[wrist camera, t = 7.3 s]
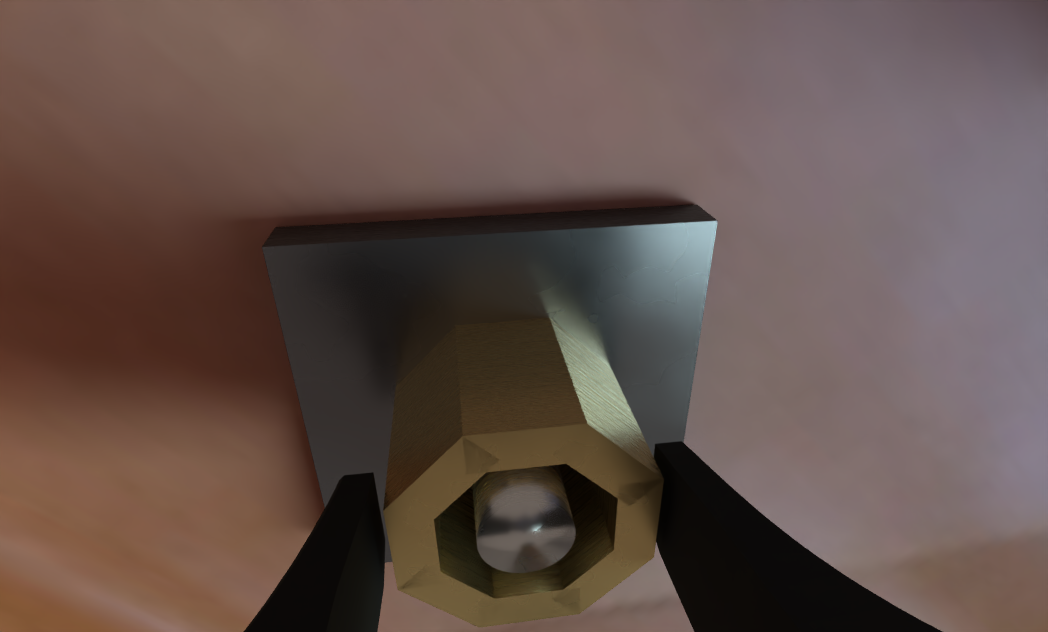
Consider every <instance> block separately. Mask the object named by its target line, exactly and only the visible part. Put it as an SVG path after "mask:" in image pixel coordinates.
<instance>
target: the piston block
mask: <svg viewBox="0 0 1048 632" xmlns="http://www.w3.org/2000/svg"><path fill="white" fill-rule="evenodd" d="M716 228H717V220H716V219H715V218H713V217H712V216H711V215H710V214H708V213H707V212H706V211H705V210H703V209H702V208H701V207H699V206H698V205H681V206H662V207H644V208H625V209H607V210H589V211H570V212H552V213H533V214H515V215H497V216H478V217H460V218H441V219H423V220H404V221H386V222H368V223H349V224H331V225H312V226H294V227H276V228H275V229H274V230H273V232H272V233H271V235H270V236H269V238H268V239H267V241H266V242H265V243H264V245H263V246H262V249H263V253H264V257H265V262H266V266H267V270H268V274H269V278H270V282H271V287H272V291H273V295H274V299H275V303H276V307H277V311H278V316H279V320H280V324H281V328H282V332H283V336H284V340H285V345H286V349H287V353H288V357H289V361H290V365H291V369H292V374H293V378H294V382H295V386H296V390H297V394H298V398H299V403H300V407H301V411H302V415H303V419H304V423H305V428H306V432H307V436H308V440H309V444H310V448H311V452H312V457H313V461H314V465H315V469H316V473H317V477H318V481H319V486H320V490H321V494H322V498H323V502H324V506H325V507H326V505H327V504H328V502H329V500H330V498H331V496H332V494H333V492H334V490H335V488H336V486H337V484H338V482H339V480H340V479H341V478H342V477H343V476H344V475H352V474H361V473H371V472H373V473H374V478H375V484H376V490H377V495H378V501H379V506H380V512H381V518H382V523H383V529H384V534H385V562H393V561H392V556H391V551H390V545H389V540H388V535H387V529H386V524H385V518H384V513H383V507H384V497H385V488H386V478H387V468H388V458H389V448H390V439H391V429H392V419H393V409H394V400H395V390H396V386H397V385H398V384H399V383H400V382H401V381H402V380H403V379H404V378H405V377H406V376H407V375H408V374H409V373H410V372H411V371H412V370H413V369H414V368H415V367H416V366H417V365H418V364H419V363H420V362H421V361H422V360H423V358H424V357H425V356H426V355H427V354H428V353H429V352H430V351H431V350H432V349H433V348H434V347H435V346H436V345H437V344H438V343H439V342H440V341H441V340H442V339H443V338H444V337H445V336H446V335H447V334H448V333H449V332H450V331H451V330H452V329H453V328H454V327H455V326H456V325H467V324H479V323H492V322H504V321H516V320H528V319H541V318H551V319H552V320H553V321H554V322H556V323H557V324H558V325H559V326H560V327H562V328H563V329H564V330H565V331H567V332H568V333H569V334H570V335H572V336H573V337H574V338H575V339H577V340H578V341H579V342H580V343H581V344H583V345H584V346H585V347H586V348H588V349H589V350H590V351H591V352H593V353H594V354H595V355H596V356H598V357H599V358H600V359H601V360H602V361H604V362H605V363H606V364H607V365H609V366H610V367H611V369H612V371H613V373H614V375H615V377H616V379H617V381H618V384H619V386H620V388H621V390H622V392H623V394H624V396H625V398H626V400H627V403H628V405H629V407H630V409H631V411H632V413H633V415H634V417H635V419H636V422H637V424H638V426H639V428H640V430H641V432H642V434H643V436H644V438H645V441H646V443H647V445H648V447H649V449H650V451H651V453H652V455H653V457H654V449H655V444H658V443H668V442H678V441H682V442H683V441H684V435H685V428H686V422H687V415H688V409H689V403H690V396H691V390H692V383H693V377H694V370H695V364H696V357H697V351H698V344H699V338H700V331H701V325H702V318H703V312H704V305H705V299H706V292H707V286H708V279H709V273H710V266H711V260H712V253H713V247H714V241H715V234H716ZM472 489H473V501H474V514H475V527H476V540H477V549H478V552H479V554H480V556H481V558H482V559H483V560H484V561H485V562H486V563H487V564H489V565H490V566H492V567H493V568H496V569H498V570H501V571H505V572H510V573H528V572H533V571H537V570H541V569H544V568H546V567H548V566H551V565H552V564H554V563H556V562H557V561H559V560H560V559H561V558H562V557H564V556H565V555H566V554H567V552H568V551H569V550H570V548H571V547H572V545H573V543H574V540H575V535H576V529H575V525H574V521H573V517H572V513H571V510H570V506H569V502H568V498H567V495H566V491H565V487H564V483H563V479H562V476H561V472H560V468H559V465H550V466H540V467H531V468H522V469H513V470H503V471H494V472H486V473H485V474H484V475H483V476H482V477H481V478H480V479H478V480H477V481H476V482H475V483H474V484H473V485H472Z"/></svg>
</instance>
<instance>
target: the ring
mask: <svg viewBox="0 0 1048 632" xmlns="http://www.w3.org/2000/svg"><path fill="white" fill-rule="evenodd" d="M550 465H559V468H560V472H561V476H562V479H563V483H564V487H565V491H566V495H567V498H568V502H569V506H570V510H571V513H572V517H573V521H574V525H575V529H576V535H575V540H574V543H573V545H572V547H571V548H570V550H569V551H568V552H567V554H566V555H565V556H564V557H562V558H561V559H560V560H559V561H557V562H556V563H554V564H552V565H551V566H548V567H546V568H544V569H541V570H537V571H533V572H528V573H510V572H505V571H501V570H498V569H496V568H493V567H492V566H490V565H489V564H487V563H486V562H485V561H484V560H483V559H482V558H481V556H480V554H479V552H478V549H477V540H476V527H475V514H474V501H473V489H472V485H473V484H474V483H475V482H476V481H477V480H478V479H480V478H481V477H482V476H483V475H484V474H485V473H486V472H494V471H503V470H513V469H522V468H531V467H540V466H550ZM663 483H664V478H663V476H662V474H661V472H660V470H659V468H658V466H657V464H656V462H655V460H654V457H653V455H652V453H651V451H650V449H649V447H648V445H647V443H646V441H645V438H644V436H643V434H642V432H641V430H640V428H639V426H638V424H637V422H636V419H635V417H634V415H633V413H632V411H631V409H630V407H629V405H628V403H627V400H626V398H625V396H624V394H623V392H622V390H621V388H620V386H619V384H618V381H617V379H616V377H615V375H614V373H613V371H612V369H611V367H610V366H609V365H607V364H606V363H605V362H604V361H602V360H601V359H600V358H599V357H598V356H596V355H595V354H594V353H593V352H591V351H590V350H589V349H588V348H586V347H585V346H584V345H583V344H581V343H580V342H579V341H578V340H577V339H575V338H574V337H573V336H572V335H570V334H569V333H568V332H567V331H565V330H564V329H563V328H562V327H560V326H559V325H558V324H557V323H556V322H554V321H553V320H552V319H551V318H541V319H528V320H516V321H504V322H492V323H479V324H467V325H456V326H455V327H454V328H453V329H452V330H451V331H450V332H449V333H448V334H447V335H446V336H445V337H444V338H443V339H442V340H441V341H440V342H439V343H438V344H437V345H436V346H435V347H434V348H433V349H432V350H431V351H430V352H429V353H428V354H427V355H426V356H425V357H424V358H423V360H422V361H421V362H420V363H419V364H418V365H417V366H416V367H415V368H414V369H413V370H412V371H411V372H410V373H409V374H408V375H407V376H406V377H405V378H404V379H403V380H402V381H401V382H400V383H399V384H398V385H397V386H396V390H395V400H394V409H393V419H392V429H391V439H390V448H389V458H388V468H387V478H386V488H385V497H384V507H383V513H384V518H385V524H386V529H387V535H388V540H389V545H390V551H391V556H392V561H393V567H394V572H395V577H396V583H397V588H398V590H399V591H401V592H404V593H406V594H408V595H410V596H412V597H415V598H417V599H419V600H421V601H423V602H425V603H428V604H430V605H432V606H434V607H436V608H438V609H441V610H443V611H445V612H447V613H449V614H451V615H454V616H456V617H458V618H460V619H462V620H464V621H467V622H469V623H471V624H473V625H475V626H477V627H487V626H494V625H501V624H509V623H516V622H523V621H531V620H538V619H546V618H553V617H560V616H568V615H575V614H580V613H581V612H582V611H584V610H585V609H586V608H588V607H589V606H590V605H592V604H593V603H594V602H596V601H597V600H598V599H600V598H601V597H602V596H604V595H605V594H606V593H607V592H609V591H610V590H611V589H613V588H614V587H615V586H617V585H618V584H619V583H621V582H622V581H623V580H625V579H626V578H627V577H629V576H630V575H631V574H632V573H634V572H635V571H636V570H638V569H639V568H640V567H642V566H643V565H644V564H646V563H647V562H648V561H650V560H651V559H652V558H653V557H654V552H655V545H656V537H657V529H658V521H659V514H660V506H661V498H662V491H663Z"/></svg>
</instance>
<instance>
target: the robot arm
mask: <svg viewBox="0 0 1048 632" xmlns="http://www.w3.org/2000/svg"><path fill="white" fill-rule="evenodd" d="M654 460H655V462H656V464H657V466H658V468H659V470H660V472H661V474H662V476H663V478H664V483H663V491H662V498H661V506H660V514H659V521H658V529H657V537H656V542H657V545H658V549H659V552H660V555H661V557H662V559H663V562H664V564H665V566H666V569H667V571H668V573H669V575H670V578H671V580H672V582H673V585H674V587H675V589H676V591H677V594H678V596H679V598H680V600H681V603H682V605H683V607H684V609H685V612H686V614H687V616H688V618H689V620H690V623H691V625H692V627H693V629H694V632H942V631H940V630H938V629H936V628H934V627H932V626H931V625H929V624H927V623H925V622H923V621H921V620H919V619H917V618H916V617H914V616H912V615H910V614H908V613H907V612H905V611H903V610H901V609H899V608H898V607H896V606H894V605H893V604H891V603H889V602H888V601H886V600H884V599H883V598H881V597H879V596H878V595H876V594H874V593H873V592H871V591H869V590H868V589H866V588H864V587H862V586H861V585H859V584H858V583H856V582H855V581H853V580H851V579H850V578H848V577H847V576H845V575H844V574H842V573H841V572H839V571H838V570H836V569H835V568H833V567H832V566H831V565H829V564H828V563H826V562H825V561H823V560H822V559H820V558H819V557H817V556H816V555H815V554H813V553H812V552H810V551H809V550H808V549H806V548H805V547H803V546H802V545H801V544H799V543H798V542H797V541H795V540H794V539H793V538H792V537H790V536H789V535H788V534H786V533H785V532H784V531H783V530H781V529H780V528H779V527H777V526H776V525H775V524H774V523H772V522H771V521H770V520H769V519H767V518H766V517H765V516H764V515H763V514H761V513H760V512H759V511H758V510H757V509H756V508H754V507H753V506H752V505H751V504H750V503H749V502H748V501H746V500H745V499H744V498H743V497H742V496H741V495H739V494H738V493H737V492H736V491H735V490H734V489H733V488H732V487H731V486H729V485H728V484H727V483H726V482H725V481H724V480H723V479H722V478H721V477H720V476H719V475H717V474H716V473H715V472H714V471H713V470H712V469H711V468H710V467H709V466H708V465H707V464H706V463H705V462H703V461H702V460H701V459H700V458H699V457H698V456H697V455H696V454H695V453H694V452H693V451H692V450H691V449H689V448H688V447H687V446H686V445H685V444H684V443H683V442H682V441H678V442H668V443H658V444H655V449H654ZM384 568H385V534H384V529H383V523H382V518H381V512H380V506H379V501H378V495H377V490H376V484H375V478H374V473H373V472H371V473H361V474H352V475H344V476H343V477H342V478H341V479H340V480H339V482H338V484H337V486H336V488H335V490H334V492H333V494H332V496H331V498H330V500H329V502H328V504H327V505H326V507H325V509H324V511H323V513H322V515H321V516H320V518H319V520H318V522H317V523H316V525H315V527H314V529H313V530H312V532H311V534H310V535H309V537H308V539H307V540H306V542H305V544H304V545H303V547H302V548H301V550H300V552H299V553H298V555H297V557H296V558H295V560H294V561H293V563H292V565H291V566H290V568H289V569H288V571H287V572H286V574H285V575H284V576H283V578H282V579H281V581H280V582H279V584H278V585H277V587H276V588H275V590H274V591H273V593H272V594H271V596H270V597H269V598H268V600H267V601H266V603H265V604H264V606H263V607H262V608H261V610H260V611H259V612H258V614H257V615H256V616H255V618H254V619H253V620H252V622H251V623H250V624H249V626H248V627H247V628H246V630H245V631H244V632H377V630H378V623H379V616H380V609H381V603H382V596H383V588H384Z"/></svg>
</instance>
